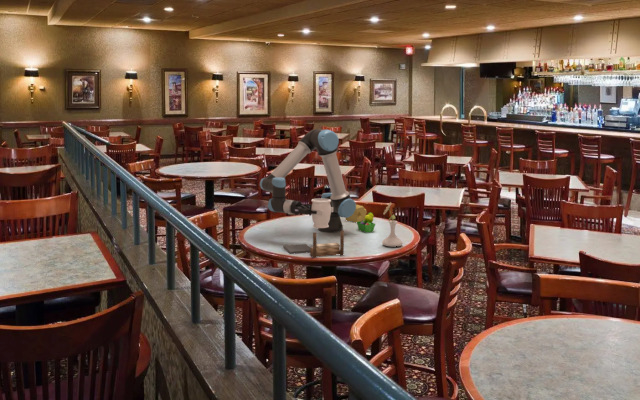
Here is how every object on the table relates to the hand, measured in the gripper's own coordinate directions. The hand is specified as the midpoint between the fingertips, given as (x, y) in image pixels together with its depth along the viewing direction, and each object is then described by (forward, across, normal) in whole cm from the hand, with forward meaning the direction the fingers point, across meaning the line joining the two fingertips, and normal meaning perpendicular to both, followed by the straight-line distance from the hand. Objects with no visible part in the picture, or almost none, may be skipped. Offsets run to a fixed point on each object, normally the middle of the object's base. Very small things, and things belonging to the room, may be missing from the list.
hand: (327, 211), depth 345 cm
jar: (-4, 0, -9) cm, 10 cm away
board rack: (+5, +10, -21) cm, 24 cm away
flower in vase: (+26, -25, -21) cm, 42 cm away
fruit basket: (-3, -53, -21) cm, 57 cm away
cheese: (-23, -76, -21) cm, 82 cm away
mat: (-12, +10, -21) cm, 26 cm away
